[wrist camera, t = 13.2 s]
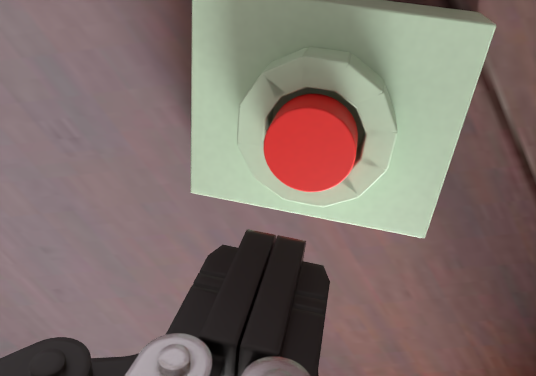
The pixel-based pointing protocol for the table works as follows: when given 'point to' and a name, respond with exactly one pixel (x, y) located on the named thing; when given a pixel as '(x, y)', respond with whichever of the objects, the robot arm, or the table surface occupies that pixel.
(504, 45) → the table surface
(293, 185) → the stop button
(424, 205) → the stop block
